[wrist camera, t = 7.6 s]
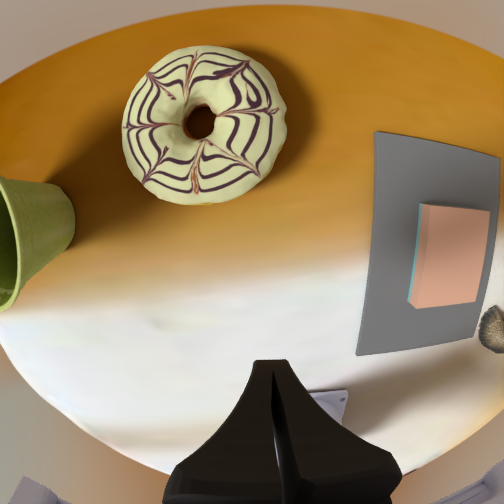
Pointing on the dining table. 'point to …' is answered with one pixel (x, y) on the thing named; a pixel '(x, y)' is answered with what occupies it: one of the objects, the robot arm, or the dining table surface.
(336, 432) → the robot arm
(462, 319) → the mat
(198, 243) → the dining table surface
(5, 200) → the plant pot
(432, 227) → the tile
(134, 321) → the dining table surface
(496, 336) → the eagle figurine
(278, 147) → the decorated donut
